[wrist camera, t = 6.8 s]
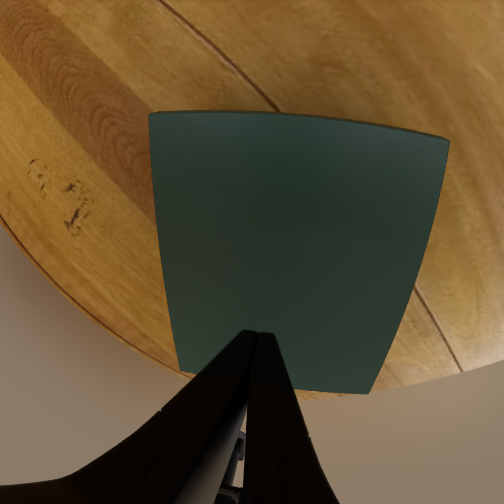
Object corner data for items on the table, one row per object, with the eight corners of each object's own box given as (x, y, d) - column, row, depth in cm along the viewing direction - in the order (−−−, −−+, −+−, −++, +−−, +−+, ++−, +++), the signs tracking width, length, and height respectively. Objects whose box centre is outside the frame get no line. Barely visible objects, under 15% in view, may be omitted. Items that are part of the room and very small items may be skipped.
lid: (157, 111, 11) (147, 113, 10) (442, 136, 10) (450, 140, 9) (183, 361, 18) (179, 371, 17) (367, 383, 16) (368, 394, 16)
